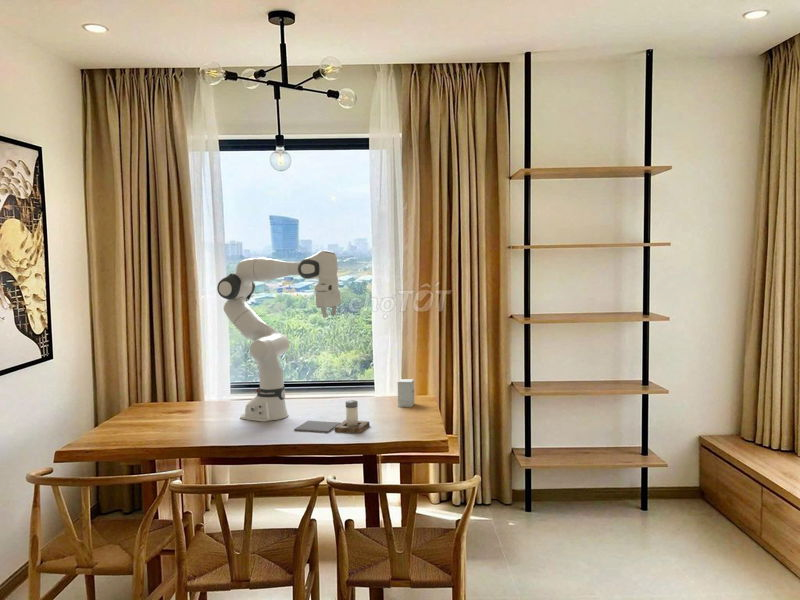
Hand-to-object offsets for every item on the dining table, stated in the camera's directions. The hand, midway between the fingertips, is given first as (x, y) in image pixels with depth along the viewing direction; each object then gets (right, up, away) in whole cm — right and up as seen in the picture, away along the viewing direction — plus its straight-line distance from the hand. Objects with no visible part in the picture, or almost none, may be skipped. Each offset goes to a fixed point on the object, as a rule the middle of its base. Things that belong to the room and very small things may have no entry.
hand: (329, 316), depth 288 cm
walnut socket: (+11, -49, -12) cm, 51 cm away
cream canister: (+11, -49, -12) cm, 51 cm away
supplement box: (+35, -45, +28) cm, 64 cm away
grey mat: (-4, -49, -8) cm, 50 cm away
